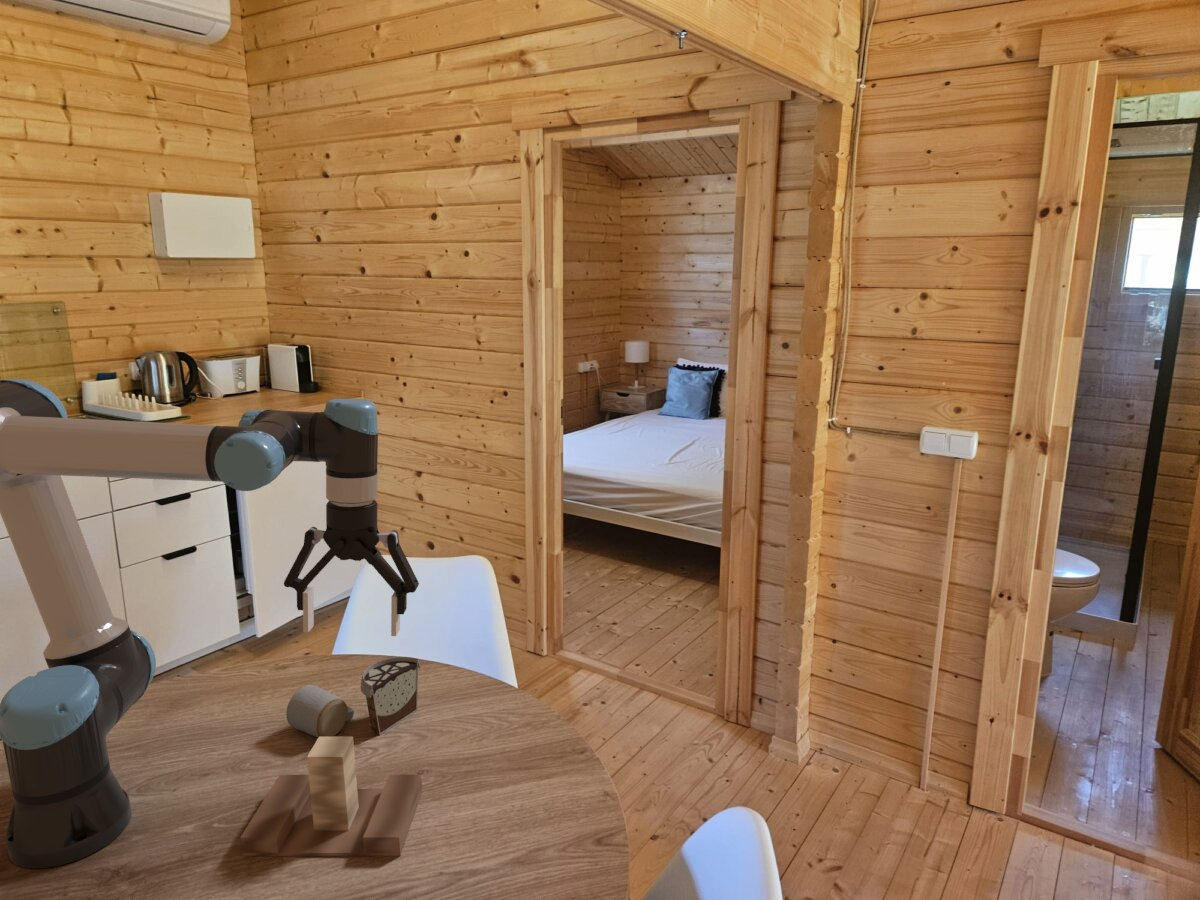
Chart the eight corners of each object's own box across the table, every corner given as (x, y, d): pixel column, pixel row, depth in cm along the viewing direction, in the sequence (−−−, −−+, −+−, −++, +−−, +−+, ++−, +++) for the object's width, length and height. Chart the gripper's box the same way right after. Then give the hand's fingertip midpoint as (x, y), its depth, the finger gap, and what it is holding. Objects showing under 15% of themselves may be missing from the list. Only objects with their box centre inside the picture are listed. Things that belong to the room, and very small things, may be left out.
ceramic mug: (320, 748, 137) (317, 707, 135) (286, 735, 141) (283, 695, 139) (365, 719, 146) (363, 680, 144) (333, 707, 150) (330, 669, 148)
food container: (398, 697, 153) (395, 649, 151) (422, 706, 150) (420, 657, 148) (348, 729, 143) (344, 677, 140) (373, 739, 140) (369, 687, 137)
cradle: (242, 856, 112) (240, 837, 112) (281, 791, 126) (279, 774, 125) (400, 855, 112) (399, 837, 112) (422, 791, 126) (421, 774, 125)
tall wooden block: (314, 830, 117) (307, 756, 114) (325, 807, 121) (319, 736, 119) (348, 830, 117) (342, 756, 114) (358, 807, 121) (353, 736, 119)
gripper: (438, 498, 127) (435, 624, 131) (278, 490, 127) (280, 618, 130) (429, 510, 120) (427, 644, 124) (259, 502, 119) (263, 637, 123)
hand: (352, 631), depth 127 cm, fingers open, 13 cm apart
